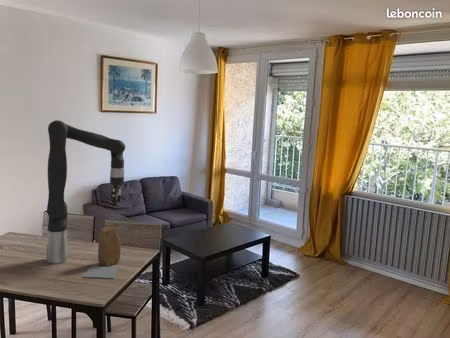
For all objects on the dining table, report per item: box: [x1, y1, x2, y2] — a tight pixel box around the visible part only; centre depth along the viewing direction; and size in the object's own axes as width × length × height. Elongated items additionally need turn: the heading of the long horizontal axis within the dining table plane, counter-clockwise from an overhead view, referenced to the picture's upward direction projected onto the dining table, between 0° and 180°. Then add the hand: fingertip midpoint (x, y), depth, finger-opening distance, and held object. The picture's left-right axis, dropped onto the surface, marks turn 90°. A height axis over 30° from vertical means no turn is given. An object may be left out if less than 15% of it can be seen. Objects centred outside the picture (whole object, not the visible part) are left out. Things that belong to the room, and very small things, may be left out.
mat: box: [82, 265, 121, 280], centre depth 191 cm, size 15×13×1 cm
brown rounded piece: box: [97, 225, 122, 267], centre depth 202 cm, size 11×8×20 cm
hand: (116, 204), depth 212 cm, fingers open, 8 cm apart
